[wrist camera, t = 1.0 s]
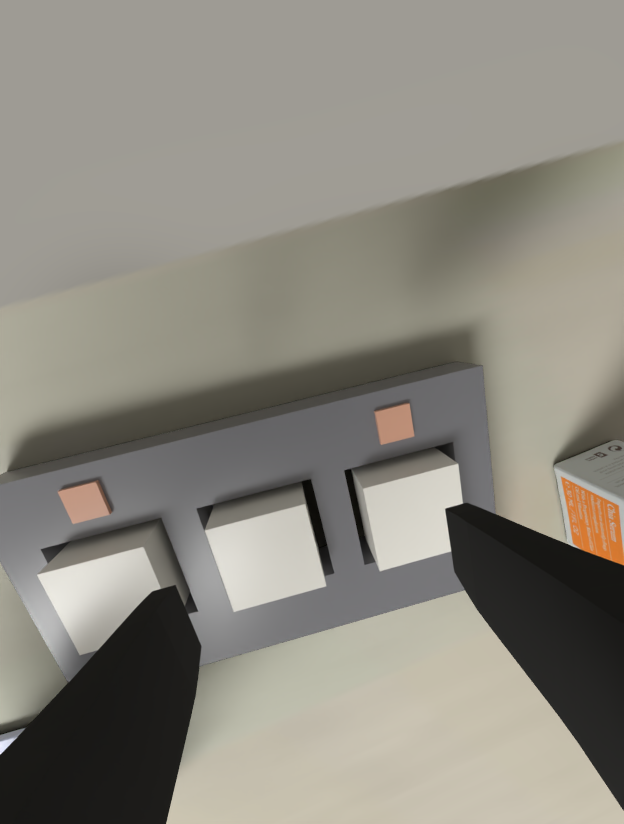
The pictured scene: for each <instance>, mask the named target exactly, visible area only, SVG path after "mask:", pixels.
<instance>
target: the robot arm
mask: <svg viewBox="0 0 624 824" xmlns="http://www.w3.org/2000/svg"><path fill="white" fill-rule="evenodd" d="M445 513H446V519H447V526H448V533H449V540H450V546H451V553H452V560H453V567H454V572H455V574H456V576H457V577H458V579H459V581H460V582H461V584H462V586H463V587H464V589H465V591H466V592H467V594H468V596H469V597H470V599H471V600H472V602H473V604H474V605H475V607H476V608H477V610H478V611H479V613H480V614H481V615H482V617H483V618H484V619H485V621H486V622H487V623H488V625H489V626H490V627H491V629H492V630H493V631H494V633H495V634H496V635H497V636H498V638H499V639H500V640H501V642H502V643H503V644H504V646H505V647H506V648H507V649H508V651H509V652H510V653H511V655H512V656H513V657H514V659H515V660H516V661H517V662H518V664H519V665H520V666H521V668H522V669H523V670H524V671H525V673H526V674H527V675H528V677H529V678H530V679H531V681H532V682H533V683H534V684H535V686H536V687H537V688H538V690H539V691H540V692H541V694H542V695H543V696H544V697H545V699H546V700H547V701H548V703H549V704H550V705H551V706H552V708H553V709H554V710H555V712H556V713H557V714H558V716H559V717H560V718H561V720H562V721H563V723H564V724H565V725H566V727H567V728H568V729H569V731H570V732H571V734H572V735H573V736H574V738H575V739H576V740H577V742H578V743H579V745H580V746H581V748H582V749H583V751H584V752H585V754H586V755H587V757H588V758H589V760H590V761H591V763H592V764H593V766H594V767H595V769H596V770H597V772H598V773H599V775H600V776H601V778H602V779H603V781H604V782H605V784H606V785H607V787H608V788H609V789H610V791H611V792H612V794H613V795H614V797H615V798H616V800H617V801H618V803H619V804H620V806H621V807H622V809H623V810H624V565H622V564H619V563H616V562H613V561H611V560H608V559H605V558H602V557H600V556H597V555H594V554H592V553H589V552H586V551H584V550H581V549H578V548H576V547H573V546H571V545H568V544H566V543H563V542H561V541H558V540H556V539H553V538H551V537H548V536H546V535H543V534H541V533H539V532H536V531H534V530H531V529H529V528H527V527H524V526H522V525H520V524H517V523H515V522H513V521H510V520H508V519H506V518H503V517H501V516H499V515H496V514H494V513H492V512H489V511H487V510H485V509H482V508H480V507H477V506H475V505H472V504H469V503H463V504H460V505H456V506H453V507H449V508H446V509H445ZM201 647H202V646H201V644H200V641H199V639H198V636H197V634H196V632H195V629H194V627H193V625H192V622H191V620H190V618H189V615H188V613H187V611H186V608H185V606H184V603H183V601H182V599H181V596H180V594H179V592H178V589H177V587H176V585H173V586H169V587H166V588H162V589H159V590H155V591H152V592H151V593H150V594H149V595H148V596H147V597H146V598H145V599H144V600H143V601H142V602H141V603H140V604H139V605H138V606H137V607H136V608H135V609H134V610H133V612H132V613H131V614H130V615H129V616H128V617H127V618H126V619H125V620H124V622H123V623H122V624H121V625H120V626H119V627H118V628H117V629H116V630H115V632H114V633H113V634H112V635H111V636H110V637H109V638H108V639H107V641H106V642H105V643H104V644H103V645H102V646H101V647H100V648H99V649H98V651H97V652H96V653H95V654H94V655H93V656H92V657H91V658H90V659H89V661H88V662H87V663H86V664H85V665H84V666H83V667H82V668H81V669H80V671H79V672H78V673H77V674H76V675H75V676H74V677H73V678H72V679H71V681H70V682H69V683H68V684H67V685H66V686H65V687H64V688H63V689H62V690H61V691H60V692H59V693H58V694H57V695H56V697H55V698H54V699H53V700H52V701H51V702H50V703H49V704H48V705H47V706H46V707H45V708H44V709H43V710H42V711H41V712H40V713H39V715H38V716H37V717H36V718H35V719H34V720H33V721H32V722H31V723H30V724H29V725H28V726H27V727H26V728H23V729H19V730H16V731H12V732H9V733H5V734H2V735H0V824H166V821H167V817H168V813H169V809H170V804H171V800H172V796H173V791H174V787H175V783H176V779H177V774H178V770H179V766H180V762H181V757H182V753H183V749H184V745H185V740H186V736H187V731H188V727H189V723H190V718H191V714H192V709H193V705H194V700H195V696H196V688H197V681H198V674H199V665H200V656H201Z"/></svg>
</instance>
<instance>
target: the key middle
mask: <svg viewBox="0 0 624 824" xmlns="http://www.w3.org/2000/svg"><path fill="white" fill-rule="evenodd" d="M205 533H206V536H207V539H208V541H209V544H210V547H211V550H212V553H213V555H214V558H215V561H216V564H217V567H218V569H219V572H220V575H221V578H222V581H223V583H224V586H225V589H226V592H227V595H228V597H229V600H230V603H231V606H232V609H233V611H234V612H236V611H240V610H243V609H247V608H250V607H254V606H258V605H261V604H265V603H268V602H272V601H276V600H279V599H283V598H286V597H290V596H293V595H297V594H301V593H304V592H308V591H311V590H315V589H318V588H322V587H326V581H325V576H324V571H323V567H322V562H321V557H320V552H319V548H318V544H317V540H316V536H315V532H314V529H313V525H312V521H311V517H310V513H309V509H308V505H307V501H306V497H305V494H304V490H303V486H302V482H301V481H300V482H297V483H293V484H289V485H285V486H281V487H277V488H273V489H270V490H266V491H262V492H258V493H254V494H250V495H247V496H243V497H239V498H235V499H231V500H227V501H223V502H220V503H216V504H214V506H213V509H212V512H211V515H210V517H209V520H208V523H207V525H206V528H205Z"/></svg>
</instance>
